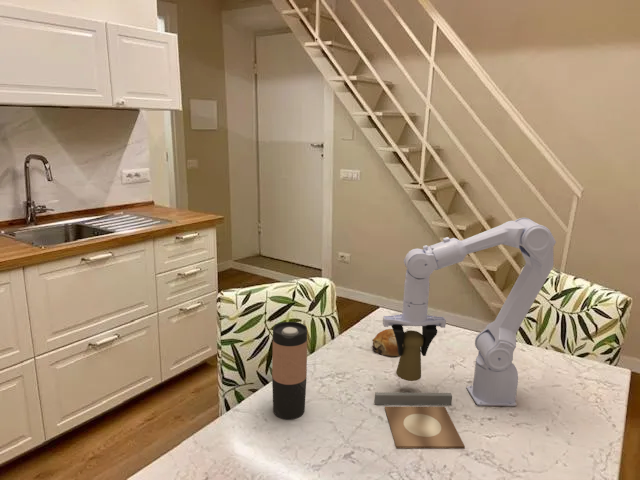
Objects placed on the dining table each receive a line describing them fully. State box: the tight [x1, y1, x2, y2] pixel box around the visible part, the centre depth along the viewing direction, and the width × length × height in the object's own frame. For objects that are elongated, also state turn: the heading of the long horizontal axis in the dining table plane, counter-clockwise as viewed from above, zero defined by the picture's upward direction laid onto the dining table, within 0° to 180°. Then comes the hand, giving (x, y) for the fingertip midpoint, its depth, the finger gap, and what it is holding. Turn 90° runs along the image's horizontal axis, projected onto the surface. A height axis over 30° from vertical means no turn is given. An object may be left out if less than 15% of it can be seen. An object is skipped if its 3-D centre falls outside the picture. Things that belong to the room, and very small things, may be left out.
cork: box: [395, 330, 424, 382], centre depth 113 cm, size 6×6×11 cm
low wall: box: [374, 391, 453, 406], centre depth 111 cm, size 18×1×2 cm, turn 92°
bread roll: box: [371, 328, 400, 358], centre depth 138 cm, size 10×10×8 cm
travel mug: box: [271, 321, 308, 420], centre depth 105 cm, size 8×8×20 cm
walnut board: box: [384, 405, 466, 449], centre depth 102 cm, size 14×14×1 cm
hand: (411, 353), depth 113 cm, fingers closed on cork, 5 cm apart
